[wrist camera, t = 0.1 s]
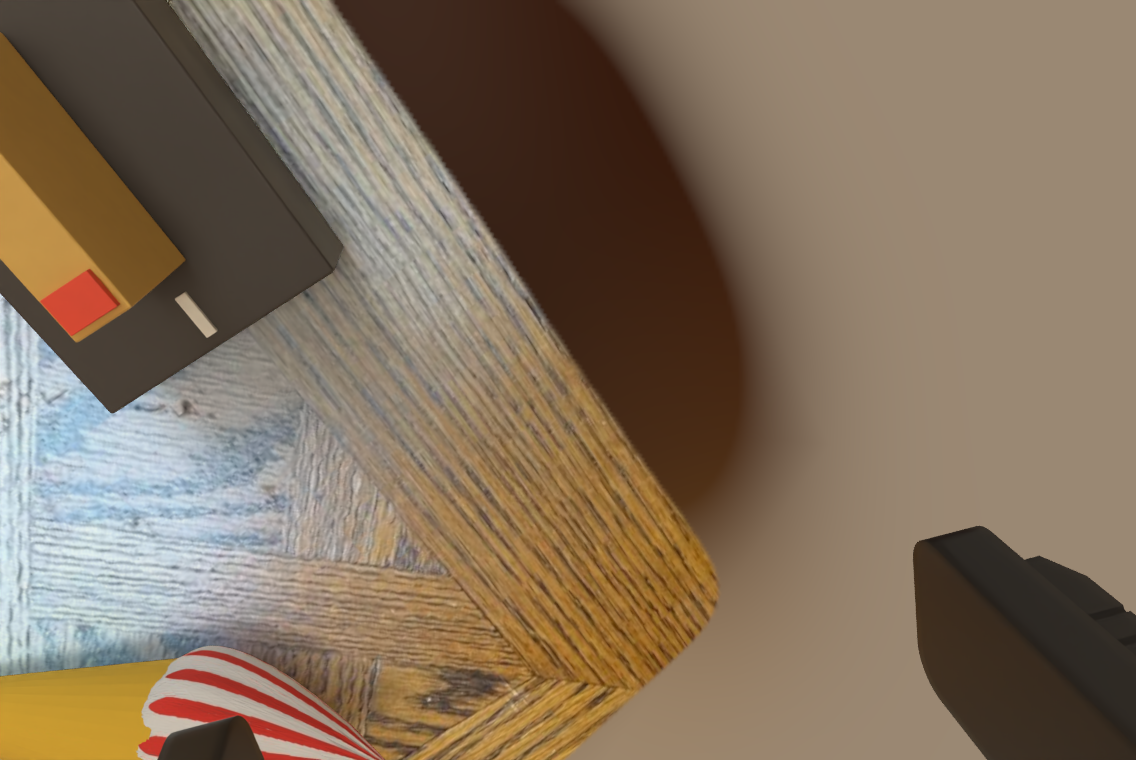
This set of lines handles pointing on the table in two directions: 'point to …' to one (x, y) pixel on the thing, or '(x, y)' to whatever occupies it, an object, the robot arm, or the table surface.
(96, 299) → the lock knob
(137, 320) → the plate
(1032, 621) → the robot arm
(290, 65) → the table surface
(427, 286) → the table surface
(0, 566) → the table surface
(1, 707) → the ice cream cone
